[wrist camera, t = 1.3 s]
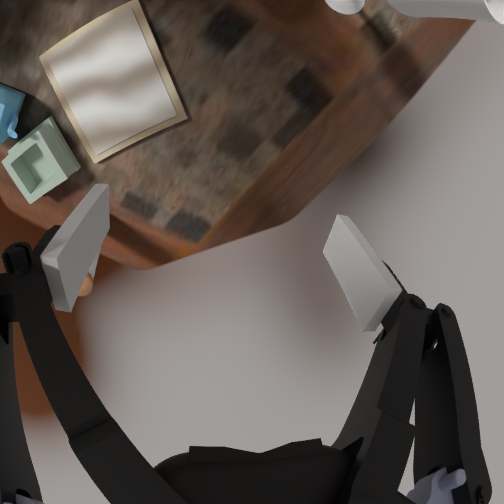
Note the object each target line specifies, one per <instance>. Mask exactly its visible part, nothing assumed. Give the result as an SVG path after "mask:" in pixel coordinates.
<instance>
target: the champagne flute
mask: <svg viewBox="0 0 504 504" xmlns="http://www.w3.org/2000/svg"><path fill="white" fill-rule="evenodd" d="M386 1H387V2H388V3H389V5H391V6H392V7H393V8H394V9H396V10H397V11H398V12H400V13H402V14H404V15H407V16H411V17H446V18H461V19H472V20H480V21H488V22H495V23H501V24H504V0H386ZM325 2H326V3H327V4H328V5H329V6H330V7H331V8H332V9H333V10H335V11H337V12H339V13H341V14H348V15H350V14H355V13H357V12H359V11H360V10H361V9H362V8H363V6H364V3H365V0H325Z"/></svg>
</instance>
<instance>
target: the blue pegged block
mask: <svg viewBox="0 0 504 504" xmlns="http://www.w3.org/2000/svg"><path fill="white" fill-rule="evenodd" d="M25 96H26V94H24V93H22V92H20V91H17V90H15V89H12V88H10V87H7V86H5V85H2V84H0V144H1V143H2V142H3V141H5V140H6V139H7V138H8V137H12V138H17V134H16V132H15V131H14V130H15V128H16V126H17V123H18V117H19V113H20V110H21V107H22V105H23V102H24V99H25Z"/></svg>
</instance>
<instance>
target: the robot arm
mask: <svg viewBox="0 0 504 504" xmlns="http://www.w3.org/2000/svg"><path fill="white" fill-rule="evenodd" d="M109 229H110V220H109V184H95V185H94V187H93V188H92V189H91V190H90V191H89V192H88V194H87V195H86V196H85V197H84V198H83V199H82V201H81V202H80V203H79V204H78V206H77V207H76V208H75V209H74V211H73V212H72V213H71V214H70V216H69V217H68V218H67V219H66V221H65V222H64V223H63V225H62V226H60V225H55V226H53V227H52V228H50V229H49V230H47V232H46V233H45V234H44V236H43V238H42V239H41V240H40V241H39V243H38V244H37V245H36V246H35V248H34V249H33V251H32V249H31V246H30V245H29V244H28V243H26V242H17V243H14V244H12V245H10V246H9V247H7V248H6V249H5V251H4V252H3V254H2V259H3V263H4V266H5V269H6V272H7V273H2V274H0V504H44V503H43V501H42V496H41V492H40V487H39V484H38V480H37V477H36V473H35V470H34V467H33V464H32V460H31V457H30V453H29V450H28V446H27V442H26V438H25V434H24V429H23V424H22V419H21V414H20V408H19V402H18V395H17V389H16V379H15V369H14V356H13V322H19V324H20V327H21V330H22V333H23V337H24V340H25V343H26V346H27V348H28V351H29V354H30V357H31V359H32V362H33V365H34V367H35V370H36V372H37V375H38V377H39V380H40V382H41V384H42V386H43V389H44V391H45V393H46V395H47V397H48V400H49V402H50V404H51V406H52V408H53V410H54V412H55V414H56V416H57V418H58V419H59V421H60V423H61V425H62V427H63V429H64V430H65V432H66V434H67V435H68V438H69V444H70V446H71V448H72V450H73V451H74V453H75V455H76V456H77V458H78V459H79V461H80V463H81V464H82V465H83V467H84V469H85V470H86V471H87V473H88V474H89V476H90V477H91V479H92V480H93V481H94V483H95V484H96V485H97V487H98V488H99V489H100V491H101V492H102V493H103V494H104V496H105V497H106V498H107V500H108V501H109V502H110V503H111V504H488V503H489V501H490V499H491V495H492V487H491V482H490V478H489V474H488V470H487V466H486V462H485V459H484V455H483V452H482V449H481V440H480V430H479V420H478V413H477V406H476V399H475V393H474V388H473V383H472V378H471V373H470V368H469V364H468V359H467V355H466V351H465V348H464V343H463V340H462V336H461V333H460V329H459V326H458V323H457V319H456V316H455V314H454V312H453V311H452V309H451V308H450V307H449V306H447V305H445V304H442V303H439V304H438V305H437V306H436V308H435V309H434V310H432V309H429V308H426V305H425V303H424V302H423V300H422V299H420V298H419V297H418V296H416V295H414V294H408V293H407V291H406V290H405V289H404V287H403V286H402V284H401V283H400V281H399V280H398V279H397V277H396V276H395V274H393V271H392V270H391V269H390V267H389V266H388V265H387V264H386V263H384V262H383V261H382V260H381V259H380V257H379V256H378V255H377V254H376V252H375V251H374V249H373V248H372V247H371V245H370V244H369V243H368V241H367V240H366V239H365V237H364V236H363V235H362V233H361V232H360V231H359V230H358V228H357V227H356V226H355V224H354V223H353V222H352V221H351V219H350V218H349V217H348V216H344V215H338V214H337V217H336V219H335V222H334V224H333V227H332V229H331V232H330V234H329V237H328V239H327V242H326V244H325V247H324V249H323V254H324V255H325V257H326V259H327V261H328V263H329V265H330V267H331V269H332V271H333V273H334V275H335V276H336V278H337V280H338V282H339V284H340V286H341V288H342V290H343V292H344V294H345V296H346V298H347V300H348V302H349V304H350V306H351V308H352V310H353V312H354V314H355V316H356V318H357V321H358V323H359V325H360V327H361V329H362V331H375V330H376V329H377V327H378V326H379V324H380V323H382V325H383V327H384V329H383V330H382V332H381V333H380V334H379V335H378V337H377V338H376V339H375V341H374V342H373V343H374V344H375V343H376V342H377V344H376V347H375V350H374V353H373V356H372V359H371V362H370V364H369V367H368V370H367V372H366V375H365V378H364V380H363V383H362V385H361V388H360V390H359V393H358V395H357V397H356V400H355V402H354V405H353V407H352V409H351V411H350V414H349V416H348V418H347V420H346V422H345V425H344V427H343V429H342V431H341V433H340V435H339V437H338V438H337V440H336V441H335V442H334V444H333V445H332V446H326V445H322V441H321V438H318V439H312V440H305V441H298V442H291V443H288V444H286V445H283V446H280V447H277V448H275V449H272V450H269V451H266V452H263V453H255V452H249V451H243V450H238V449H233V448H228V447H204V446H203V447H202V446H190V447H189V452H187V453H182V454H178V455H175V456H172V457H170V458H168V459H166V460H164V461H162V462H161V463H159V464H158V465H157V466H155V467H154V468H153V467H152V466H151V465H150V464H149V463H148V462H147V461H146V459H145V458H144V457H143V456H142V455H141V453H140V452H139V451H138V450H137V449H136V447H135V446H134V445H133V443H132V442H131V441H130V440H129V438H128V437H127V436H126V434H125V433H124V432H123V431H122V429H121V428H120V426H119V425H118V424H117V422H116V421H115V420H114V419H113V418H112V417H111V415H110V414H109V413H108V411H107V410H106V408H105V407H104V405H103V404H102V402H101V401H100V399H99V398H98V396H97V394H96V393H95V391H94V390H93V388H92V386H91V385H90V383H89V381H88V379H87V378H86V376H85V374H84V373H83V371H82V369H81V367H80V365H79V364H78V362H77V360H76V358H75V356H74V354H73V352H72V351H71V349H70V347H69V345H68V343H67V341H66V338H65V336H64V334H63V332H62V330H61V328H60V326H59V324H58V321H57V319H56V317H55V314H54V312H53V310H52V307H51V305H50V304H51V301H52V300H53V303H54V306H55V309H56V310H61V311H66V312H71V311H72V308H73V306H74V303H75V301H76V298H77V296H78V294H79V291H80V289H81V287H82V284H83V282H84V280H85V278H86V275H87V273H88V271H89V269H90V267H91V265H92V263H93V261H94V258H95V256H96V254H97V252H98V250H99V248H100V246H101V244H102V242H103V240H104V238H105V237H106V235H107V233H108V231H109ZM436 343H437V345H436V347H435V349H434V345H435V344H436ZM414 398H415V426H414V425H412V424H410V423H409V420H410V416H411V411H412V407H413V402H414ZM414 435H415V442H414V461H413V462H414V463H413V475H414V485H415V487H414V489H413V490H411V491H410V492H409V493H408V494H407V497H406V496H404V495H403V494H401V493H400V492H398V491H397V490H398V487H399V484H400V482H401V479H402V476H403V473H404V470H405V467H406V464H407V460H408V457H409V454H410V450H411V447H412V443H413V439H414Z"/></svg>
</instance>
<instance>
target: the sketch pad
mask: <svg viewBox="0 0 504 504" xmlns="http://www.w3.org/2000/svg"><path fill="white" fill-rule="evenodd" d="M39 58H40V61H41V63H42V65H43V67H44V70H45V72H46V74H47V76H48V78H49V80H50V82H51V84H52V86H53V88H54V90H55V92H56V94H57V96H58V98H59V100H60V102H61V104H62V106H63V108H64V110H65V112H66V114H67V116H68V118H69V120H70V121H71V123H72V125H73V127H74V129H75V131H76V132H77V134H78V136H79V138H80V139H81V141H82V143H83V145H84V146H85V148H86V150H87V152H88V153H89V155H90V157H91V158H92V160H93V162H94V163H97V162H99V161H101V160H102V159H104V158H106V157H108V156H110V155H111V154H113V153H115V152H117V151H119V150H121V149H123V148H125V147H127V146H129V145H131V144H133V143H135V142H137V141H139V140H141V139H143V138H145V137H147V136H149V135H151V134H153V133H156V132H158V131H160V130H162V129H164V128H167V127H169V126H171V125H174V124H176V123H178V122H181V121H183V120H185V119H188V117H187V114H186V112H185V110H184V107H183V105H182V103H181V100H180V98H179V95H178V93H177V91H176V88H175V86H174V84H173V81H172V79H171V76H170V74H169V72H168V69H167V67H166V65H165V62H164V60H163V57H162V55H161V53H160V50H159V48H158V45H157V43H156V41H155V38H154V36H153V33H152V31H151V29H150V26H149V24H148V21H147V19H146V16H145V14H144V12H143V9H142V7H141V4H140V2H139V0H132V1H129V2H127V3H125V4H123V5H121V6H119V7H117V8H115V9H113V10H111V11H109V12H108V13H106V14H104V15H102V16H100V17H98V18H97V19H95V20H93V21H91V22H90V23H88V24H86V25H85V26H83V27H81V28H80V29H78V30H77V31H75V32H74V33H72V34H71V35H69V36H67V37H66V38H65V39H63V40H62V41H60V42H59V43H57V44H56V45H55V46H53V47H52V48H50V49H49V50H48V51H46V52H45V53H44V54H42V55H41V56H40V57H39Z"/></svg>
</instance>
